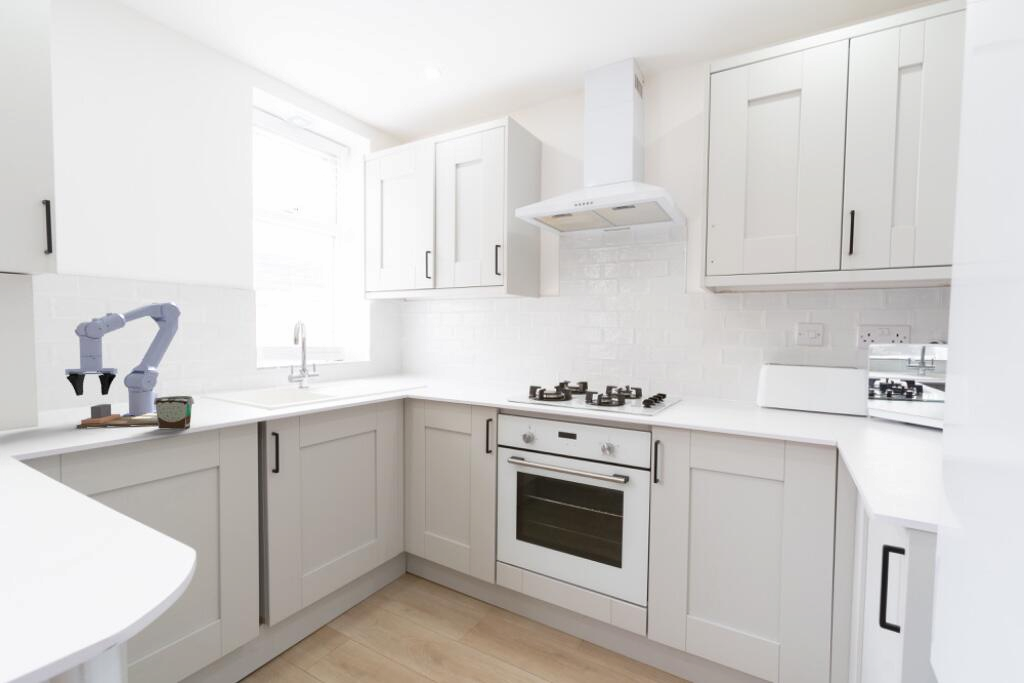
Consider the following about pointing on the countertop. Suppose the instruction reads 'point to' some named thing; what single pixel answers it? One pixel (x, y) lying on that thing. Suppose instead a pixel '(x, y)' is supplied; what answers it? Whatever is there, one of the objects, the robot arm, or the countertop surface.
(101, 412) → the pink grey stepped block
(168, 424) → the food container
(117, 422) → the board
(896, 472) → the countertop surface
